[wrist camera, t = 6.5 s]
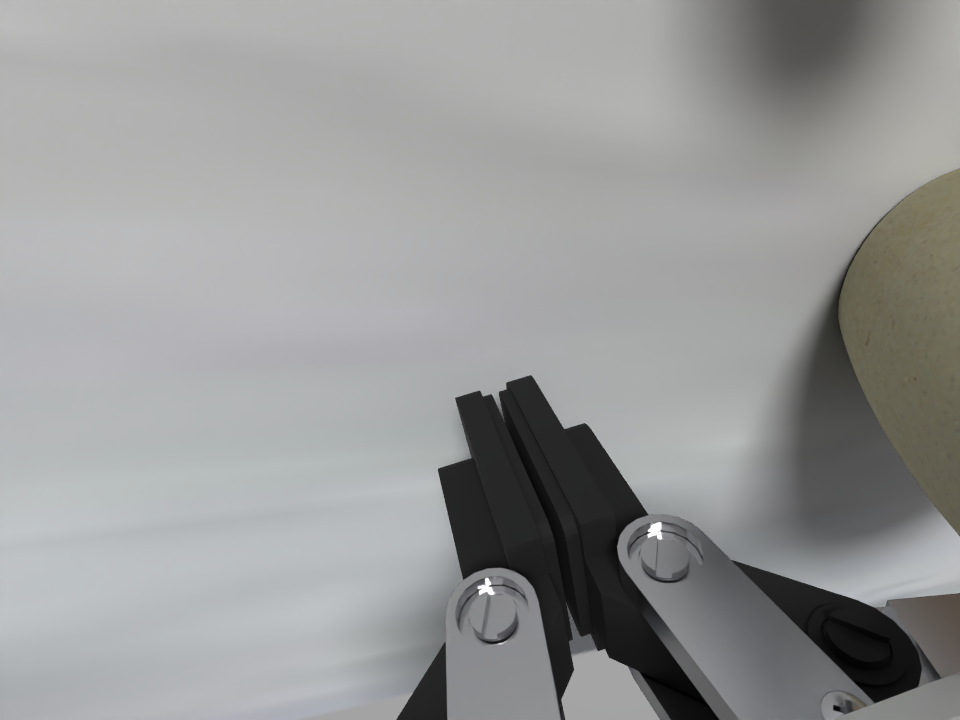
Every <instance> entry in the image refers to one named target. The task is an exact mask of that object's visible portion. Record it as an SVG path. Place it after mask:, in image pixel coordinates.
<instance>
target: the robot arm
mask: <svg viewBox="0 0 960 720" xmlns="http://www.w3.org/2000/svg"><path fill="white" fill-rule="evenodd" d="M506 387H507V390H504V391H500V392H499V397H500V402H501V406H502V411H503V416H504V420H505V423H504V421H503V418H502V416H501V414H500V412H499V409H498V407H497V405H496V403H495V401H494V398H493V396H492V395H491V394H490V395H487V396H484V397H483V396H482V394H481V392H480V391H477V392H473V393H470V394H467V395H463V396H460V397H457V398H455V399H456V403H457V407H458V410H459V414H460V417H461V421H462V425H463V428H464V432H465V435H466V439H467V443H468V446H469V450H470V454H471V457H472V458H471V459H468V460H464V461H461V462H458V463H455V464H451V465H448V466H445V467H442V468H439V469H438V472H439V477H440V481H441V485H442V490H443V494H444V498H445V503H446V507H447V511H448V516H449V520H450V524H451V529H452V533H453V537H454V542H455V546H456V550H457V555H458V559H459V563H460V568H461V572H462V576H463V581H462V582H461V583H460V584H459V585H458V587H457V588H456V589H455V590H454V591H453V593H452V595H451V597H450V599H449V601H448V604H447V609H446V616H445V631H446V642H445V643H444V645H443V646H442V648H441V650H440V651H439V653H438V654H437V656H436V657H435V659H434V661H433V662H432V664H431V665H430V667H429V669H428V670H427V672H426V673H425V675H424V677H423V678H422V680H421V681H420V683H419V685H418V686H417V688H416V689H415V691H414V692H413V694H412V696H411V697H410V699H409V700H408V702H407V704H406V705H405V707H404V709H403V710H402V712H401V713H400V715H399V716H398V718H397V720H565V716H564V712H563V706H562V702H561V699H562V696H563V694H564V692H565V689H566V687H567V685H568V682H569V680H570V678H571V675H572V673H573V671H574V668H573V662H572V657H571V652H570V647H569V641H571V640H573V638H572V632H571V627H570V622H569V616H568V611H567V605H568V608H569V610H570V613H571V615H572V618H573V620H574V622H575V625H576V627H577V630H578V632H579V634H580V636H581V637H582V636H585V635H588V634H591V636H592V638H593V641H594V643H595V645H596V647H597V650H598V651H600V650H603V649H606V652H607V654H608V656H609V658H612V659H614V660H616V661H618V662H620V663H622V664H625V665H627V666H628V667H629V669H630V671H631V674H632V676H633V678H634V680H635V681H636V683H637V684H638V686H639V687H640V689H641V691H642V692H643V694H644V695H645V697H646V698H647V700H648V701H649V702H650V704H651V706H652V708H653V709H654V711H655V712H656V714H657V715H658V717H659V718H660V720H960V593H958V594H947V595H937V596H926V597H916V598H905V599H894V600H887V603H886V606H885V607H877V608H874V607H871V606H869V605H867V604H865V603H862V602H860V601H858V600H855V599H852V598H848V597H845V596H842V595H839V594H836V593H833V592H830V591H827V590H823V589H820V588H817V587H814V586H811V585H808V584H805V583H802V582H798V581H795V580H792V579H789V578H786V577H783V576H780V575H777V574H774V573H770V572H767V571H764V570H761V569H758V568H755V567H752V566H749V565H745V564H742V563H739V562H736V561H733V560H730V559H729V558H728V557H727V556H726V555H725V554H724V553H723V552H722V551H721V550H720V549H719V548H718V547H717V546H716V545H715V544H714V543H713V542H712V541H711V540H710V539H709V538H708V537H707V536H706V535H705V534H704V533H703V532H702V531H701V530H700V529H698V528H697V527H696V526H694V525H693V524H692V523H690V522H688V521H686V520H683V519H681V518H679V517H675V516H670V515H664V514H660V515H648V513H647V512H646V511H645V509H644V508H643V506H642V505H641V503H640V502H639V500H638V499H637V497H636V496H635V494H634V493H633V491H632V490H631V488H630V487H629V485H628V484H627V482H626V481H625V479H624V478H623V476H622V475H621V473H620V472H619V470H618V469H617V467H616V466H615V464H614V463H613V461H612V460H611V458H610V457H609V455H608V454H607V452H606V451H605V449H604V448H603V446H602V445H601V444H600V442H599V441H598V439H597V438H596V436H595V435H594V433H593V432H592V430H591V429H590V428H589V426H588V425H587V424H585V423H584V424H580V425H577V426H574V427H571V428H567V429H564V428H563V427H562V425H561V423H560V422H559V420H558V418H557V417H556V415H555V413H554V412H553V410H552V408H551V407H550V405H549V403H548V402H547V400H546V398H545V397H544V395H543V393H542V392H541V390H540V388H539V387H538V385H537V383H536V382H535V380H534V378H533V377H532V376H531V375H530V376H527V377H524V378H520V379H517V380H513V381H510V382H507V383H506ZM566 603H567V605H566Z"/></svg>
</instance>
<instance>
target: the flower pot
mask: <svg viewBox="0 0 960 720" xmlns="http://www.w3.org/2000/svg"><path fill="white" fill-rule="evenodd" d="M838 319H839V324H840V330H841V333H842V337H843V340H844V343H845V347H846V350H847V352H848V355H849V358H850V361H851V363H852V366H853V369H854V371H855V374H856V377H857V379H858V381H859V383H860V386H861V388H862V390H863V393H864V395H865V397H866V399H867V400H868V402H869V404H870V406H871V408H872V410H873V412H874V414H875V416H876V418H877V420H878V422H879V423H880V425H881V427H882V429H883V430H884V432H885V434H886V435H887V437H888V439H889V441H890V442H891V444H892V446H893V447H894V449H895V450H896V452H897V453H898V455H899V457H900V458H901V460H902V461H903V463H904V464H905V466H906V467H907V469H908V470H909V472H910V473H911V475H912V476H913V477H914V479H915V480H916V481H917V483H918V484H919V486H920V487H921V488H922V490H923V491H924V492H925V494H926V495H927V497H928V498H929V499H930V500H931V502H932V503H933V504H934V505H935V507H936V508H937V509H938V511H939V512H940V513H941V514H942V515H943V517H944V518H945V519H946V520H947V521H948V523H949V524H950V525H951V526H952V527H953V529H954V530H955V531H956V532H957V533H958V535H959V536H960V168H959V169H957V170H954V171H952V172H949V173H947V174H944V175H942V176H940V177H938V178H936V179H934V180H932V181H930V182H928V183H927V184H925V185H923V186H922V187H920V188H919V189H917V190H916V191H914V192H913V193H911V194H910V195H909V196H907V197H906V198H905V199H904V200H902V201H901V202H900V203H899V204H898V205H897V206H896V207H895V208H893V209H892V210H891V211H890V212H889V213H888V214H887V215H886V216H885V217H884V218H883V219H882V221H881V222H880V223H879V224H878V225H877V226H876V227H875V228H874V229H873V231H872V232H871V233H870V235H869V236H868V238H867V239H866V240H865V242H864V243H863V245H862V246H861V248H860V249H859V251H858V253H857V254H856V256H855V258H854V260H853V262H852V264H851V266H850V268H849V270H848V272H847V275H846V278H845V280H844V283H843V287H842V290H841V294H840V298H839V306H838Z"/></svg>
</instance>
